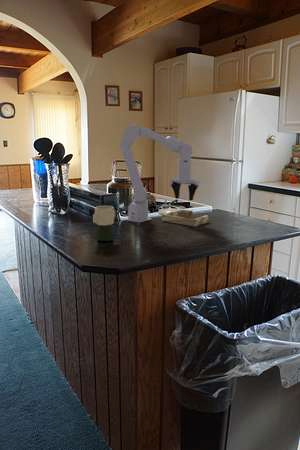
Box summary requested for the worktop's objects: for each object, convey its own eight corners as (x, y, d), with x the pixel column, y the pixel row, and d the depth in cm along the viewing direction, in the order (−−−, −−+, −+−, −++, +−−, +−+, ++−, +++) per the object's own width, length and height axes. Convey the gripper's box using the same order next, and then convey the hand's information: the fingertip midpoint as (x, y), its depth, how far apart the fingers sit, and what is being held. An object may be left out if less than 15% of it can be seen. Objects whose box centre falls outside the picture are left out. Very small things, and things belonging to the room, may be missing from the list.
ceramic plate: (175, 217, 185) (175, 215, 184) (153, 213, 193) (153, 211, 193) (190, 212, 195) (190, 210, 195) (168, 209, 204) (168, 207, 203)
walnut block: (186, 223, 173) (186, 212, 172) (177, 221, 176) (177, 211, 175) (192, 221, 177) (192, 210, 176) (183, 219, 180) (183, 209, 179)
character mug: (108, 236, 151) (108, 204, 148) (121, 239, 146) (121, 206, 143) (87, 241, 143) (86, 208, 140) (100, 245, 138) (99, 210, 135)
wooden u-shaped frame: (194, 226, 167) (194, 219, 166) (161, 220, 178) (161, 214, 177) (208, 221, 176) (208, 215, 175) (175, 216, 187) (175, 210, 186)
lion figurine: (136, 208, 208) (136, 192, 205) (132, 206, 212) (131, 190, 210) (159, 205, 214) (159, 190, 212) (154, 204, 219) (154, 189, 217)
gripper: (202, 170, 173) (201, 199, 176) (176, 168, 181) (175, 196, 185) (194, 171, 167) (194, 201, 171) (168, 169, 176) (167, 198, 179)
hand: (184, 199), depth 177 cm, fingers open, 7 cm apart
